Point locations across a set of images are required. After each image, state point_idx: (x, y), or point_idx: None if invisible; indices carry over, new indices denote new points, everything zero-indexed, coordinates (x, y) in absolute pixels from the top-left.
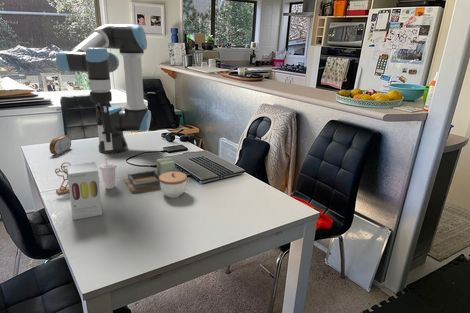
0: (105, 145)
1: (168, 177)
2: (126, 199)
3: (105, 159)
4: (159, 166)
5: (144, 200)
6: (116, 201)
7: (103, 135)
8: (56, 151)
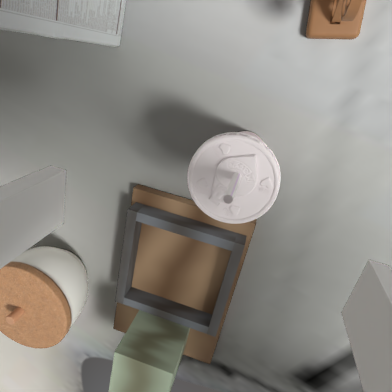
0: (16, 184)
1: (15, 294)
2: (104, 145)
3: (229, 184)
4: (145, 344)
5: (68, 186)
6: (107, 110)
7: (364, 338)
8: None
